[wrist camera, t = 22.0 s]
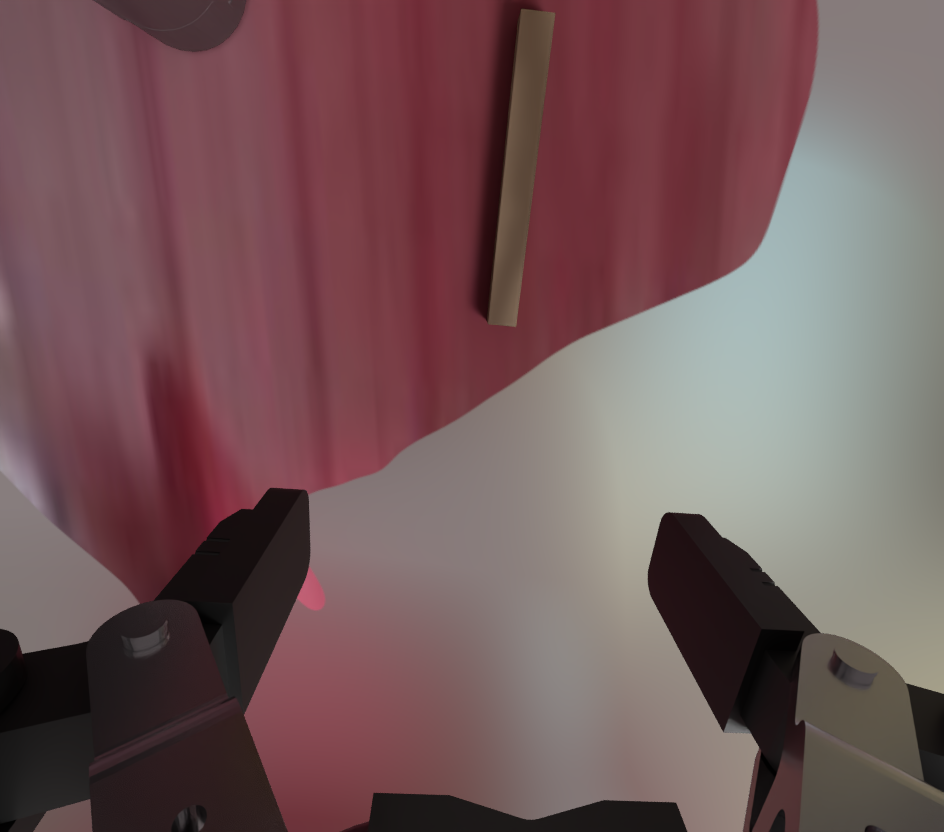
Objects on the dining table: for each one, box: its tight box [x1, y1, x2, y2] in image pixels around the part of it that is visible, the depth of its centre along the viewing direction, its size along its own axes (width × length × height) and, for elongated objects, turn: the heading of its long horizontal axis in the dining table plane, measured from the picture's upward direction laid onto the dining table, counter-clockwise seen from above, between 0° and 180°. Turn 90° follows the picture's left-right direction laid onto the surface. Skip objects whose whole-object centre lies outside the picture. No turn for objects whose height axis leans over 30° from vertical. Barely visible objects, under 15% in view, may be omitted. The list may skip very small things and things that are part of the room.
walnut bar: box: [487, 9, 555, 327], centre depth 39 cm, size 2×22×2 cm, turn 174°
